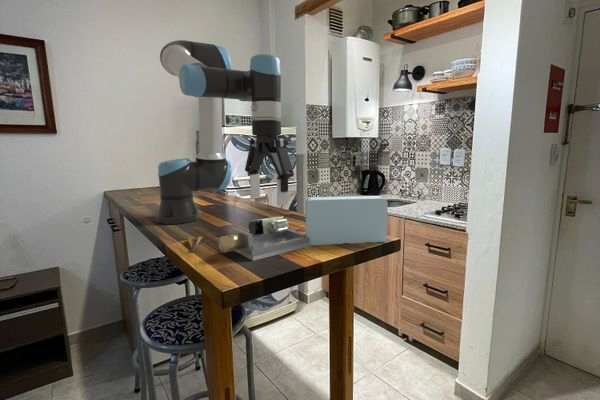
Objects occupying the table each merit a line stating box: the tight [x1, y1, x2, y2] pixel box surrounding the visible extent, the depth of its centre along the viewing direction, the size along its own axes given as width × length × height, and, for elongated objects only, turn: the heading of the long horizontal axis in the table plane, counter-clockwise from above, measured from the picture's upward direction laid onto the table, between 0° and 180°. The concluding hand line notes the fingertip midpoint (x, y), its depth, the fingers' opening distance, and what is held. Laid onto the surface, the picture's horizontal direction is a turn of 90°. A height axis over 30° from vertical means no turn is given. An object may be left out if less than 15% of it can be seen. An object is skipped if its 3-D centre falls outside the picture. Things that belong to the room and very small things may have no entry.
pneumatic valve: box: [247, 215, 290, 235], centre depth 99 cm, size 6×12×12 cm
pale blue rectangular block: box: [304, 195, 389, 246], centre depth 94 cm, size 23×6×13 cm, turn 94°
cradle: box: [218, 227, 311, 261], centre depth 88 cm, size 23×13×6 cm, turn 128°
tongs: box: [187, 236, 203, 254], centre depth 92 cm, size 4×13×2 cm, turn 18°
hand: (268, 200), depth 88 cm, fingers open, 13 cm apart
